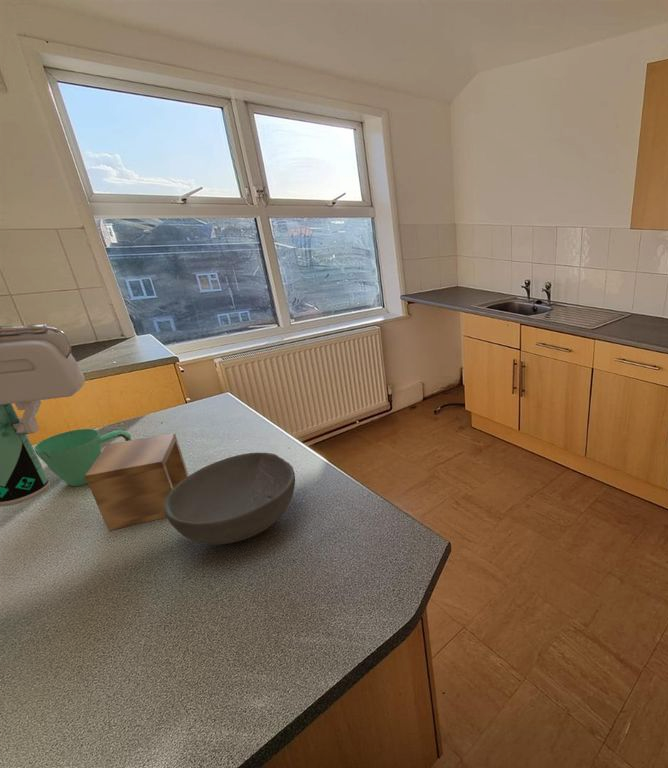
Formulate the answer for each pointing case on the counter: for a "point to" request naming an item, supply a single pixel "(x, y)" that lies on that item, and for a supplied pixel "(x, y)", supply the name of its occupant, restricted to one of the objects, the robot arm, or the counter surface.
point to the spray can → (18, 463)
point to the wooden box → (136, 479)
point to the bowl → (231, 498)
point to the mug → (74, 452)
